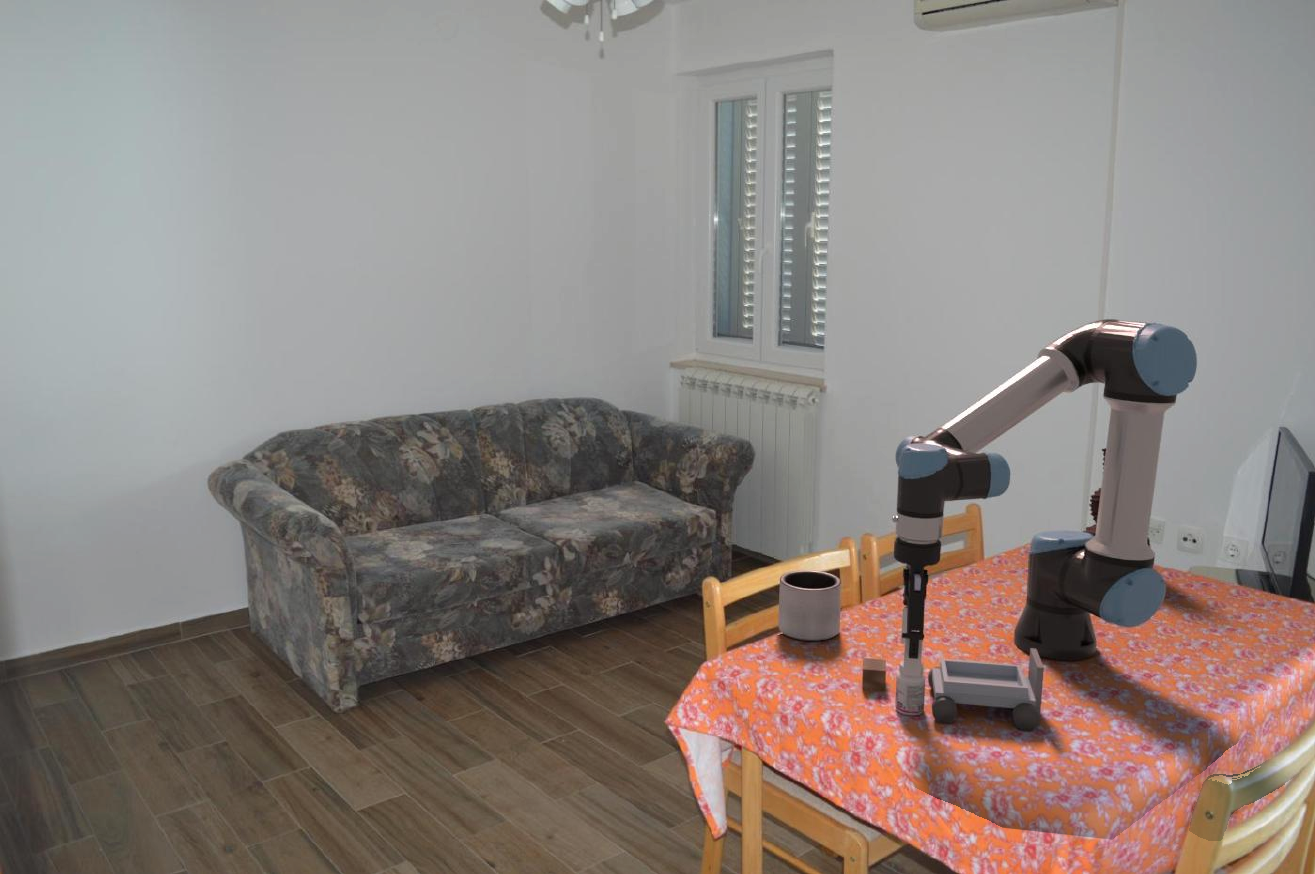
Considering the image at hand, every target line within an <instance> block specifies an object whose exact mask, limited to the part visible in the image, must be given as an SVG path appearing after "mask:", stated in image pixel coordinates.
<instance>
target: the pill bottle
mask: <svg viewBox="0 0 1315 874" xmlns="http://www.w3.org/2000/svg"><path fill="white" fill-rule="evenodd" d="M903 665H904V659H902V660H901V661H900V662H899V667H898V670H899V671H898V672H897V674H896V682H895V683H896V684H895V685H896V686H895V687H896V688H895V710H896V711H897V712H898V713H899V714H902V715H905V716H919V715H922V714H923V713H924V709H925V693H926V676H925V675H924V669H925V668H924V664H923V662H921V672H920V676H910V675H903Z"/></svg>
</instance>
